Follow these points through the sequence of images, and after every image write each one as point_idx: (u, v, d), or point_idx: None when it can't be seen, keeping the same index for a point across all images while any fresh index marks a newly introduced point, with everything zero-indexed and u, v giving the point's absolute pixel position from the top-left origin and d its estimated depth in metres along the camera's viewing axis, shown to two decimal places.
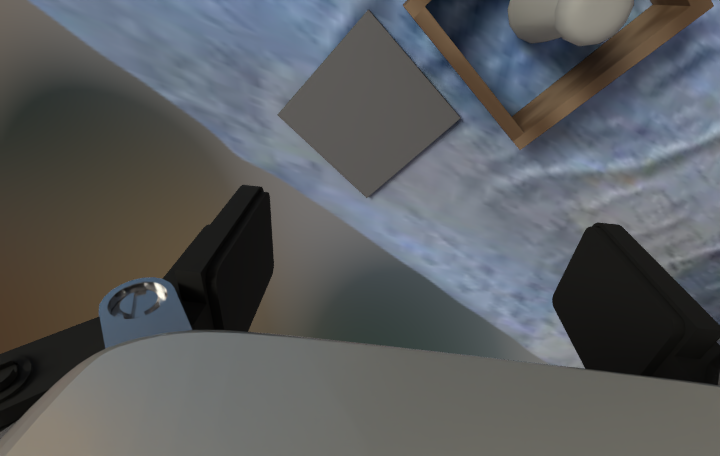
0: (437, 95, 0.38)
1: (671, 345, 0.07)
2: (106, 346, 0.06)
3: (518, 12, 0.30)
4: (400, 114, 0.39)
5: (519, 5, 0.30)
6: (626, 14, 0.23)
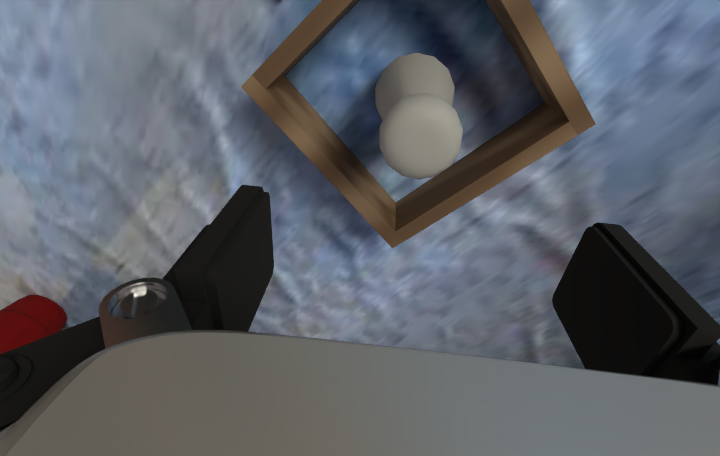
0: None
1: (671, 345, 0.07)
2: (106, 346, 0.06)
3: (414, 62, 0.24)
4: None
5: (422, 63, 0.24)
6: (410, 173, 0.19)
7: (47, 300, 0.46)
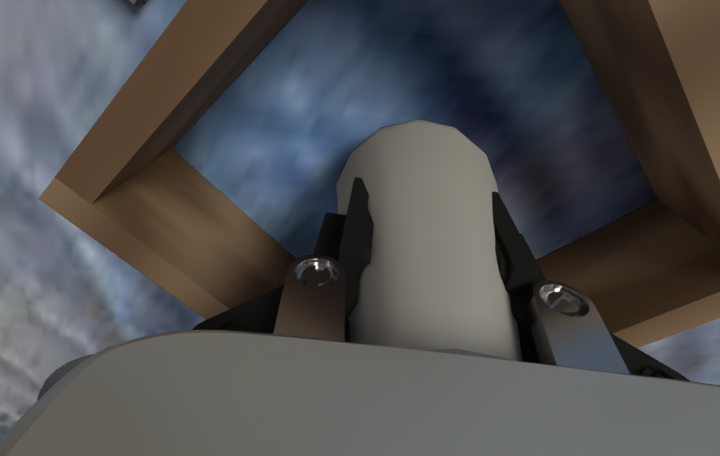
0: None
1: None
2: (281, 300, 0.07)
3: (415, 154, 0.11)
4: None
5: (433, 154, 0.11)
6: None
7: None
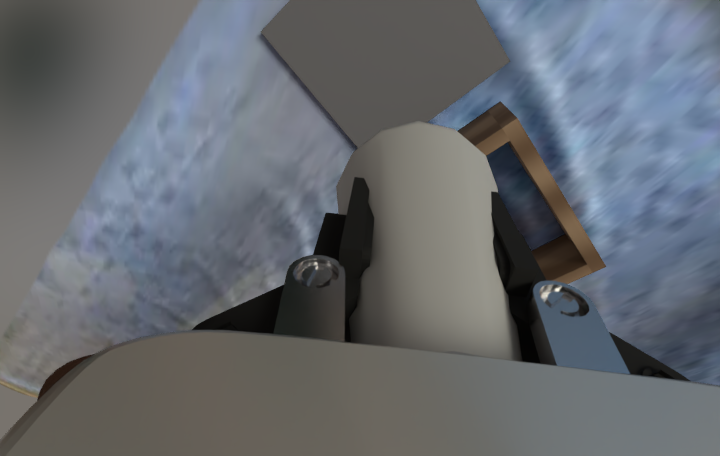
0: None
1: None
2: (281, 300, 0.07)
3: (416, 156, 0.11)
4: (382, 93, 0.31)
5: (433, 156, 0.11)
6: None
7: None
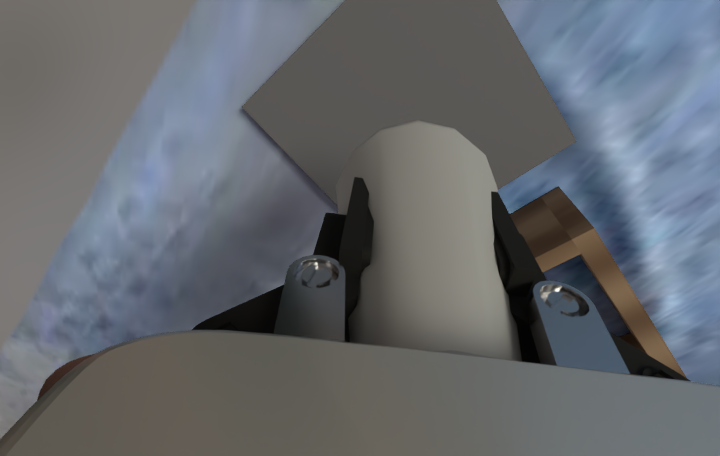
0: None
1: None
2: (281, 300, 0.07)
3: (415, 155, 0.11)
4: None
5: (433, 155, 0.11)
6: None
7: None
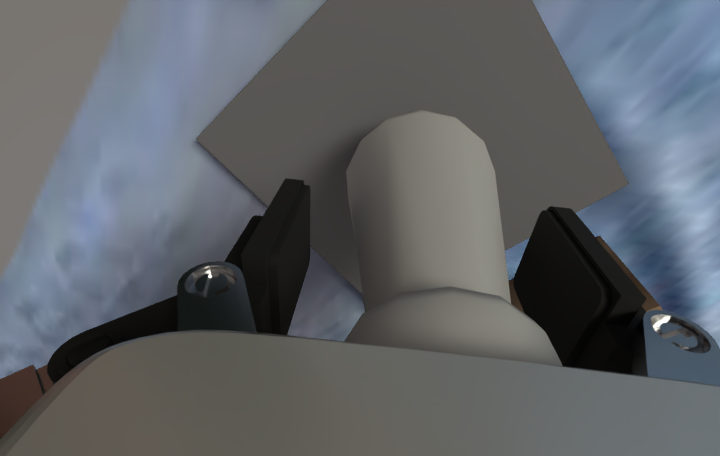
0: None
1: (601, 313, 0.08)
2: (179, 319, 0.06)
3: (419, 139, 0.12)
4: None
5: (435, 139, 0.12)
6: None
7: None
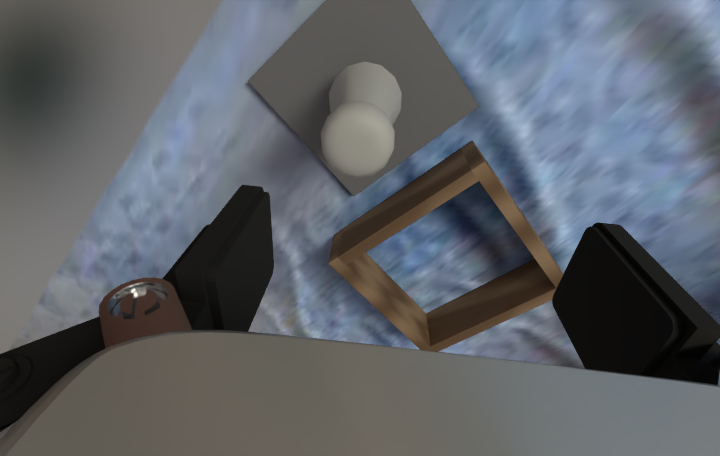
0: (380, 174, 0.35)
1: (671, 345, 0.07)
2: (106, 346, 0.06)
3: (360, 71, 0.26)
4: None
5: (367, 71, 0.26)
6: (349, 173, 0.21)
7: None
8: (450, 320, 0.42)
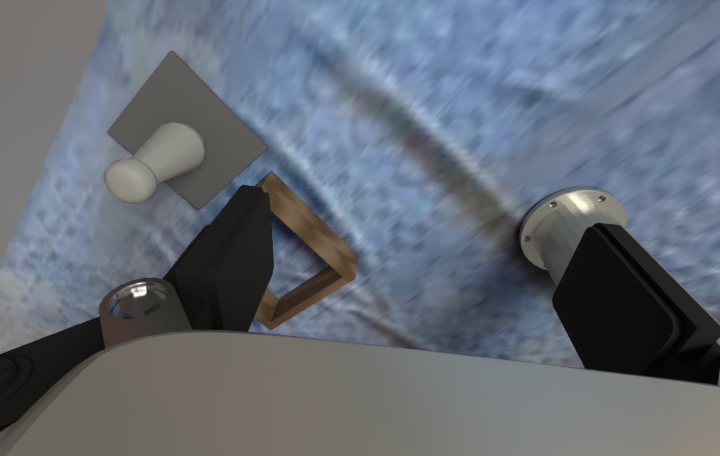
0: (213, 194, 0.49)
1: (671, 345, 0.07)
2: (106, 346, 0.06)
3: (161, 131, 0.40)
4: None
5: (166, 131, 0.40)
6: (126, 201, 0.35)
7: None
8: (287, 303, 0.55)
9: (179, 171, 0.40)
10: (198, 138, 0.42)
